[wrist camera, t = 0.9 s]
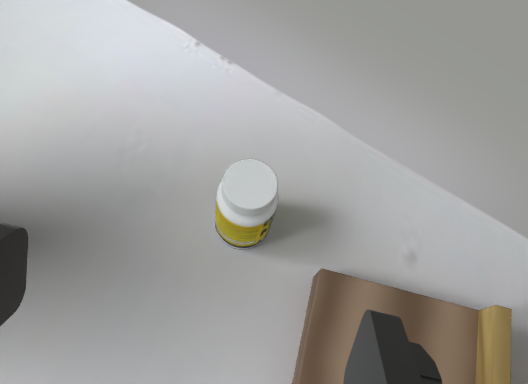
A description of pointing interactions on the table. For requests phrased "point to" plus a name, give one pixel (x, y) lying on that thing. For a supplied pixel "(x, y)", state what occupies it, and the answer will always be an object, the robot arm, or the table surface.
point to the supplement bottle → (246, 203)
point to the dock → (416, 327)
